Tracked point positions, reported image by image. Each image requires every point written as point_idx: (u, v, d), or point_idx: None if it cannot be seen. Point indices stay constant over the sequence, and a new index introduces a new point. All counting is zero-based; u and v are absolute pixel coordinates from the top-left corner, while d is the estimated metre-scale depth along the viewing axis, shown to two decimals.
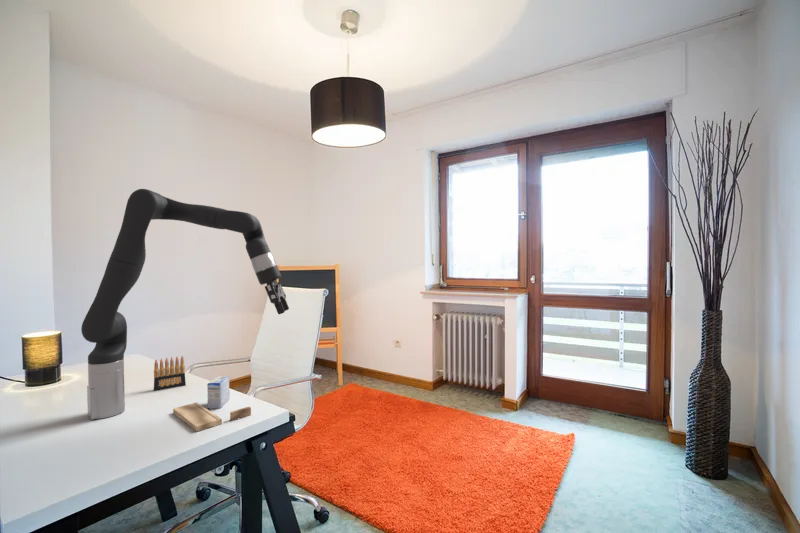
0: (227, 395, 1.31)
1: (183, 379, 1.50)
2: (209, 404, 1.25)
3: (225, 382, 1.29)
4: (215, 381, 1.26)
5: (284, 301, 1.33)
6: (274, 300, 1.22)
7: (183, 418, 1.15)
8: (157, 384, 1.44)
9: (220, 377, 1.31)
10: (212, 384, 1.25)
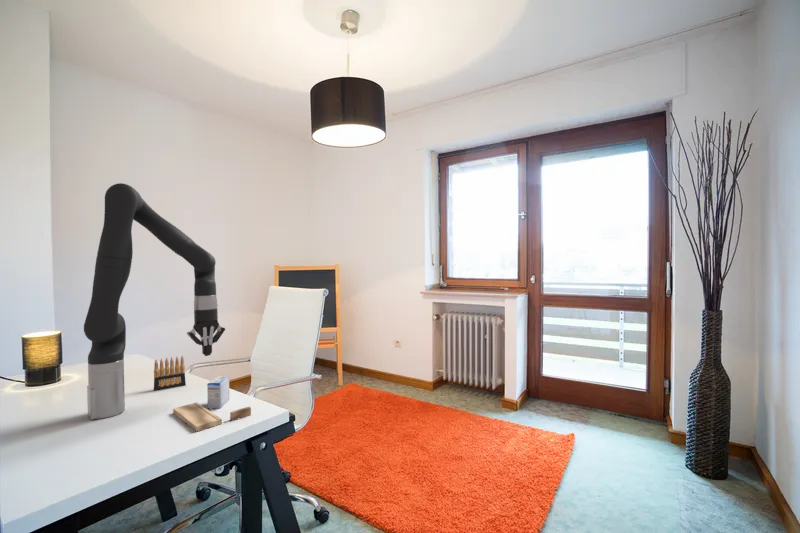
0: (227, 395, 1.31)
1: (183, 379, 1.50)
2: (209, 404, 1.25)
3: (225, 382, 1.29)
4: (215, 381, 1.26)
5: None
6: (197, 343, 1.33)
7: (183, 418, 1.15)
8: (157, 384, 1.44)
9: (220, 377, 1.31)
10: (212, 384, 1.25)
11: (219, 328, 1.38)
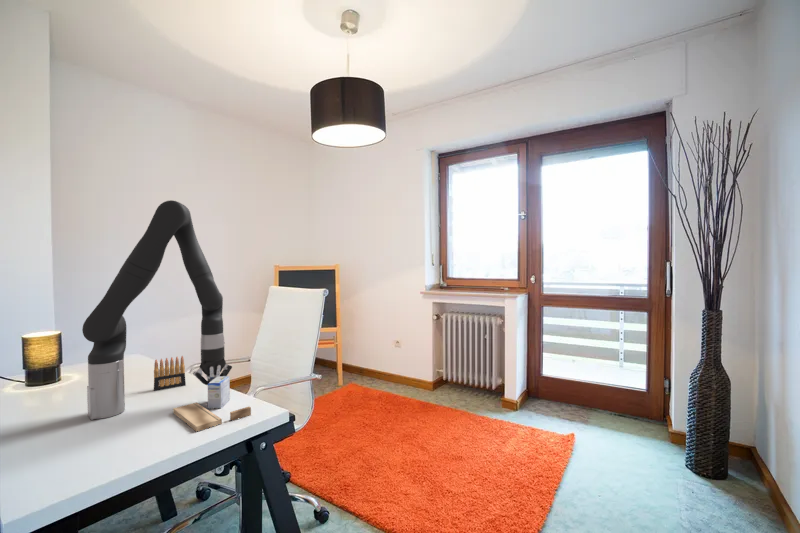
0: (227, 395, 1.31)
1: (183, 379, 1.50)
2: (209, 404, 1.24)
3: (225, 382, 1.29)
4: (215, 381, 1.26)
5: None
6: (204, 383, 1.30)
7: (183, 418, 1.15)
8: (157, 384, 1.44)
9: (220, 377, 1.31)
10: (212, 384, 1.24)
11: (226, 366, 1.35)
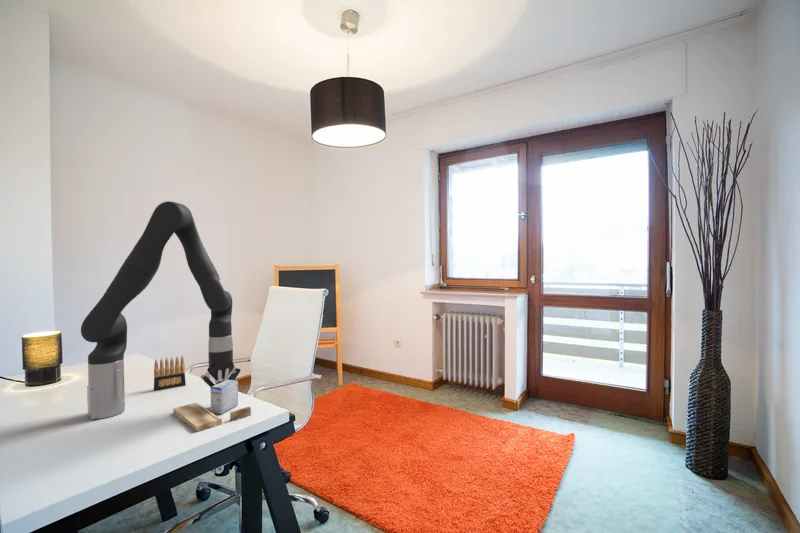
0: (234, 400, 1.25)
1: (183, 379, 1.50)
2: (212, 409, 1.20)
3: (231, 387, 1.24)
4: (218, 386, 1.21)
5: None
6: None
7: (183, 418, 1.15)
8: (157, 384, 1.44)
9: (228, 381, 1.26)
10: (214, 388, 1.20)
11: (234, 369, 1.30)
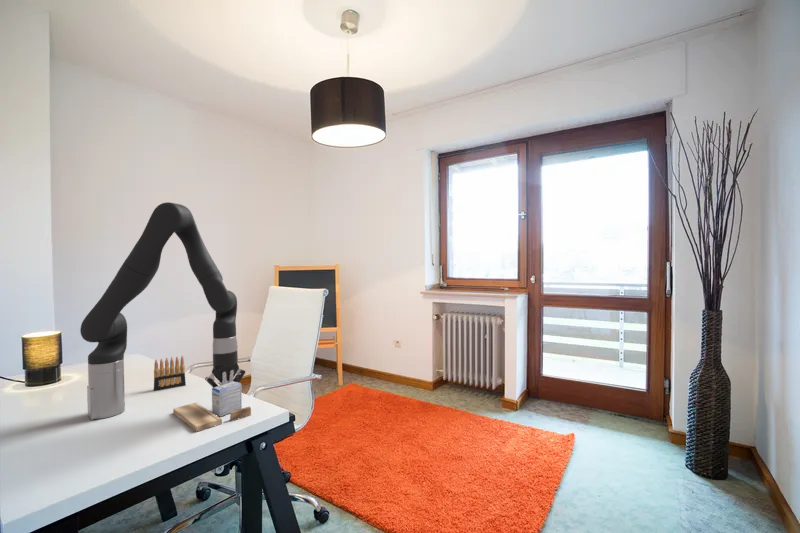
0: (236, 403, 1.22)
1: (183, 379, 1.50)
2: (213, 410, 1.19)
3: (232, 390, 1.21)
4: (218, 387, 1.19)
5: None
6: None
7: (183, 418, 1.15)
8: (157, 384, 1.44)
9: (232, 383, 1.24)
10: (214, 390, 1.19)
11: (239, 371, 1.28)
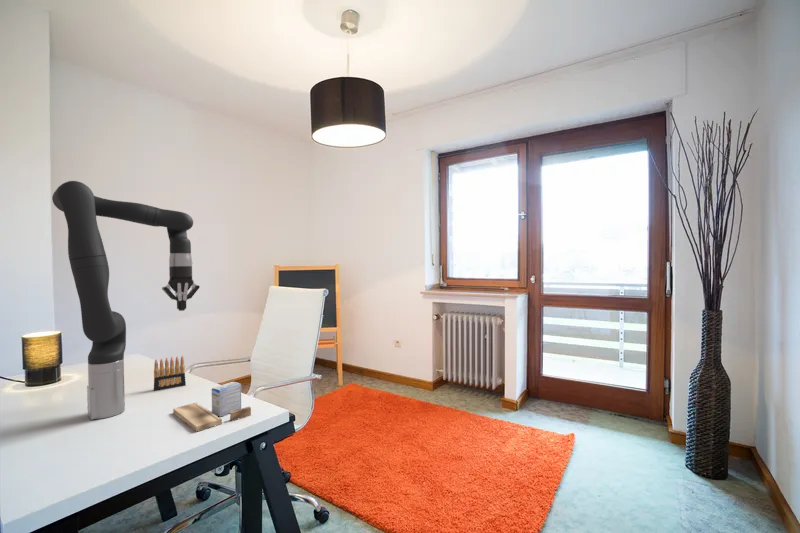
0: (236, 403, 1.22)
1: (183, 379, 1.50)
2: (213, 410, 1.19)
3: (232, 390, 1.21)
4: (218, 388, 1.19)
5: (182, 302, 1.42)
6: (172, 298, 1.41)
7: (183, 418, 1.15)
8: (157, 384, 1.44)
9: (232, 383, 1.24)
10: (214, 390, 1.19)
11: (194, 285, 1.46)
